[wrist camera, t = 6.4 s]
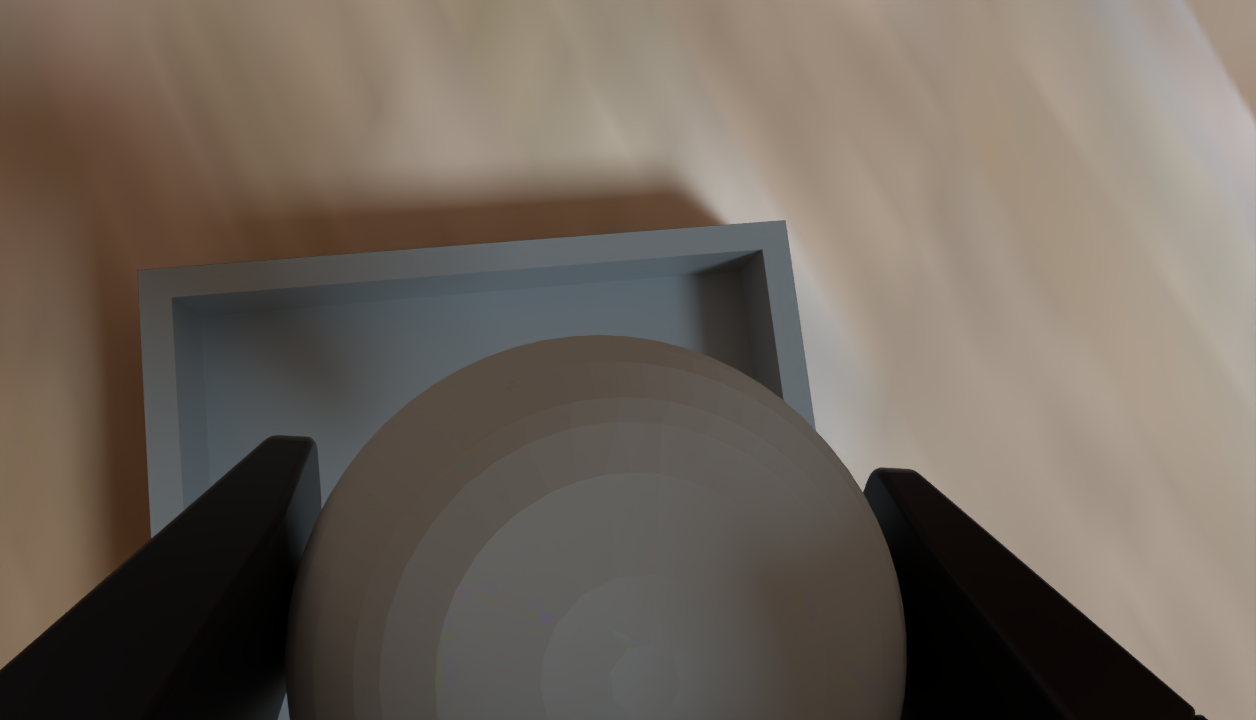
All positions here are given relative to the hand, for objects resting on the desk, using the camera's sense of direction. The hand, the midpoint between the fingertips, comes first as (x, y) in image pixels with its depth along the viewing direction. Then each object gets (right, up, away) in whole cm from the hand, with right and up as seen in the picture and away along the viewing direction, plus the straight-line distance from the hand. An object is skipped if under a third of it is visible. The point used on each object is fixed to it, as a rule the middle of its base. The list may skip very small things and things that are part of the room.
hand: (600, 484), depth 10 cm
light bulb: (-1, -2, +7) cm, 7 cm away
